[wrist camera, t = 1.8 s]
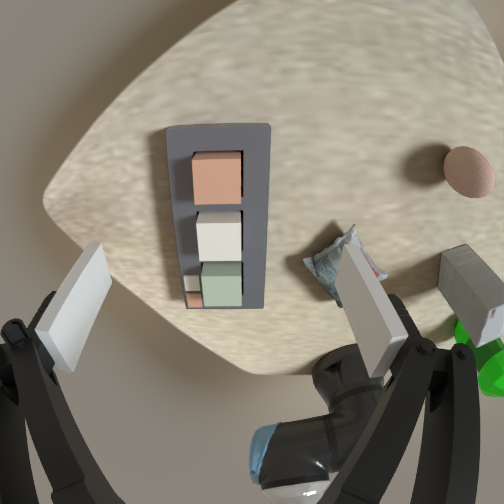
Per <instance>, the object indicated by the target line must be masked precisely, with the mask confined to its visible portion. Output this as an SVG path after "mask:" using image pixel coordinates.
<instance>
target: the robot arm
mask: <svg viewBox="0 0 504 504" xmlns="http://www.w3.org/2000/svg"><path fill="white" fill-rule="evenodd" d="M111 283H112V281H111V277H110V273H109V270H108V266H107V262H106V258H105V255H104V251H103V247H102V243H89V244H88V246H87V247H86V249H85V250H84V251H83V253H82V254H81V256H80V257H79V259H78V260H77V262H76V263H75V264H74V266H73V267H72V269H71V271H70V272H69V274H68V275H67V276H66V278H65V280H64V281H63V283H62V284H61V286H60V287H59V289H58V291H52V292H51V293H50V294H49V295H48V296H47V297H46V298H45V299H44V301H43V303H42V304H41V306H40V308H39V309H38V312H37V313H36V314H35V316H34V317H33V319H32V321H31V323H30V324H29V326H28V328H26V326H25V325H24V323H23V321H22V320H20V319H16V318H15V319H12V320H9V321H8V322H6V324H5V325H4V326H3V327H2V329H1V334H0V335H1V336H2V338H3V339H4V341H5V342H6V343H5V344H0V504H39V502H38V498H37V494H36V490H35V485H34V480H33V476H32V471H31V465H30V460H29V452H28V445H27V437H26V427H25V419H26V422H27V425H28V428H29V431H30V434H31V437H32V440H33V443H34V446H35V448H36V451H37V453H38V456H39V458H40V461H41V463H42V466H43V468H44V470H45V473H46V475H47V477H48V479H49V481H50V483H51V486H52V488H53V492H52V494H51V499H52V501H53V504H125V502H124V501H123V500H122V499H121V498H120V497H118V496H117V494H116V493H115V492H114V490H113V489H112V487H111V486H110V484H109V483H108V481H107V480H106V478H105V476H104V475H103V473H102V471H101V470H100V468H99V466H98V464H97V463H96V461H95V459H94V457H93V456H92V454H91V452H90V450H89V448H88V447H87V445H86V443H85V441H84V439H83V437H82V435H81V433H80V431H79V429H78V427H77V425H76V423H75V420H74V418H73V416H72V414H71V411H70V409H69V407H68V405H67V402H66V400H65V398H64V395H63V392H62V390H61V387H60V385H59V382H58V380H57V377H56V374H55V372H54V371H53V366H54V364H55V363H56V365H57V367H58V368H59V370H60V371H65V372H70V373H73V372H74V370H75V367H76V364H77V362H78V359H79V357H80V354H81V352H82V349H83V347H84V344H85V342H86V339H87V337H88V334H89V332H90V330H91V327H92V325H93V323H94V320H95V318H96V316H97V314H98V311H99V309H100V307H101V305H102V303H103V300H104V298H105V296H106V294H107V292H108V290H109V288H110V286H111ZM334 285H335V287H336V290H337V292H338V295H339V297H340V300H341V302H342V305H343V307H344V310H345V312H346V315H347V317H348V320H349V323H350V325H351V328H352V331H353V333H354V336H355V339H356V341H357V344H354V345H349V346H345V347H342V348H340V349H337V350H335V351H333V352H331V353H329V354H328V355H326V356H325V357H323V358H322V359H321V360H320V361H319V362H318V363H317V364H316V365H315V367H314V368H313V371H312V378H313V383H314V386H315V388H316V389H317V391H318V392H319V394H320V395H321V397H322V398H323V400H324V401H325V403H326V404H327V406H328V410H329V414H327V415H323V416H317V417H312V418H308V419H303V420H297V421H292V422H284V423H282V422H279V423H277V424H273V425H268V426H263V427H260V428H259V429H257V430H256V431H255V433H254V435H253V437H252V441H251V446H250V456H249V467H250V476H251V480H252V482H253V483H255V484H258V485H261V487H262V493H263V494H265V495H266V496H268V497H269V498H270V499H271V500H272V504H379V502H380V500H381V498H382V496H383V494H384V493H385V491H386V489H387V487H388V485H389V483H390V481H391V479H392V477H393V475H394V473H395V471H396V469H397V467H398V465H399V463H400V461H401V459H402V456H403V454H404V452H405V450H406V447H407V445H408V443H409V440H410V438H411V435H412V433H413V430H414V428H415V425H416V422H417V420H418V417H419V414H420V412H421V409H422V406H423V403H424V400H425V397H426V401H425V415H424V425H423V435H422V443H421V450H420V456H419V463H418V468H417V474H416V479H415V484H414V489H413V493H412V498H411V502H410V504H475V500H476V493H477V485H478V474H479V460H480V459H479V458H480V405H479V391H478V379H477V370H476V362H475V355H474V352H473V351H472V349H471V348H470V347H469V346H468V345H466V344H464V343H456V344H454V346H453V347H452V348H451V350H446V349H439V348H437V347H436V345H435V344H434V343H433V342H432V341H430V340H429V339H426V338H423V337H422V336H421V334H420V333H419V331H418V329H417V327H416V325H415V324H414V322H413V320H412V318H411V316H409V313H408V311H407V310H406V308H405V306H404V304H403V303H402V301H401V300H400V299H399V298H398V297H397V296H396V295H395V294H386V293H385V291H384V289H383V287H382V286H381V284H380V282H379V280H378V279H377V277H376V275H375V274H374V272H373V270H372V268H371V267H370V265H369V263H368V262H367V260H366V259H365V257H364V255H363V254H362V252H361V250H360V249H359V247H358V246H357V245H353V244H344V247H343V251H342V256H341V260H340V264H339V268H338V272H337V276H336V280H335V284H334ZM389 368H390V370H391V373H392V376H391V377H390V379H389V380H388V382H387V383H386V385H385V386H384V376H385V374H386V373H387V371H388V369H389ZM338 471H339V473H338V474H337V476H336V477H335V479H334V480H333V482H332V483H331V485H330V486H329V488H328V489H327V490H326V492H325V493H324V495H323V491H324V490H325V488H326V487H327V486H328V484H329V483H330V480H329V474H330V473H334V472H338Z"/></svg>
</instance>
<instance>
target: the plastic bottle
mask: <svg viewBox="0 0 504 504" xmlns="http://www.w3.org/2000/svg"><path fill="white" fill-rule="evenodd" d="M454 335H455V340H456V343H464V344H466V345H468V346H469V347H470V348H471V349H472V351H473V352H474V355H475V362H476V369H477V371H478V373H479V375H478V383H479V387H480V390H481V391H482V393H483V394H484V395H486V396H493V397H504V344H503V342H502V341H501V339H500V338H497V339H495V340H493V341H490V342H488V343H486V344H484V345H482V346H480V347H478V348H476V347H475V345H474V344H473V342H472V340H471V339H470V337H469V335H468V334H467V332H466V330H465V329H464V327H463V325H462V324H461V322H460V321H459V319H458V321H457V325H456V328H455V331H454Z"/></svg>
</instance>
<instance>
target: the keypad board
mask: <svg viewBox="0 0 504 504" xmlns="http://www.w3.org/2000/svg"><path fill="white" fill-rule="evenodd" d="M270 142H271V126H270V125H269V124H268V123H216V124H193V125H177V126H171V127H169V128H167V129H166V146H167V159H168V172H169V183H170V193H171V203H172V212H173V221H174V229H175V237H176V245H177V252H178V260H179V267H180V273H181V280H182V286H183V293H184V299H185V305H186V309H261V308H264V288H265V268H266V246H267V223H268V198H269V172H270ZM225 150H243V188H241V204H202V205H195V202H194V187H193V171H192V159H193V157H194V156H195V154H196V152H197V151H225ZM235 210H243V239H241V261H199V250H198V239H197V228H196V222H197V219H198V215H199V211H235ZM203 262H243V281H241V289H242V306H204V298H203V289H202V280H201V274H202V268H203Z"/></svg>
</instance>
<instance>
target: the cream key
mask: <svg viewBox="0 0 504 504" xmlns="http://www.w3.org/2000/svg"><path fill="white" fill-rule="evenodd" d="M196 228H197V239H198V250H199V261H241V210H235V211H199V215H198V219H197V222H196Z"/></svg>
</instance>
